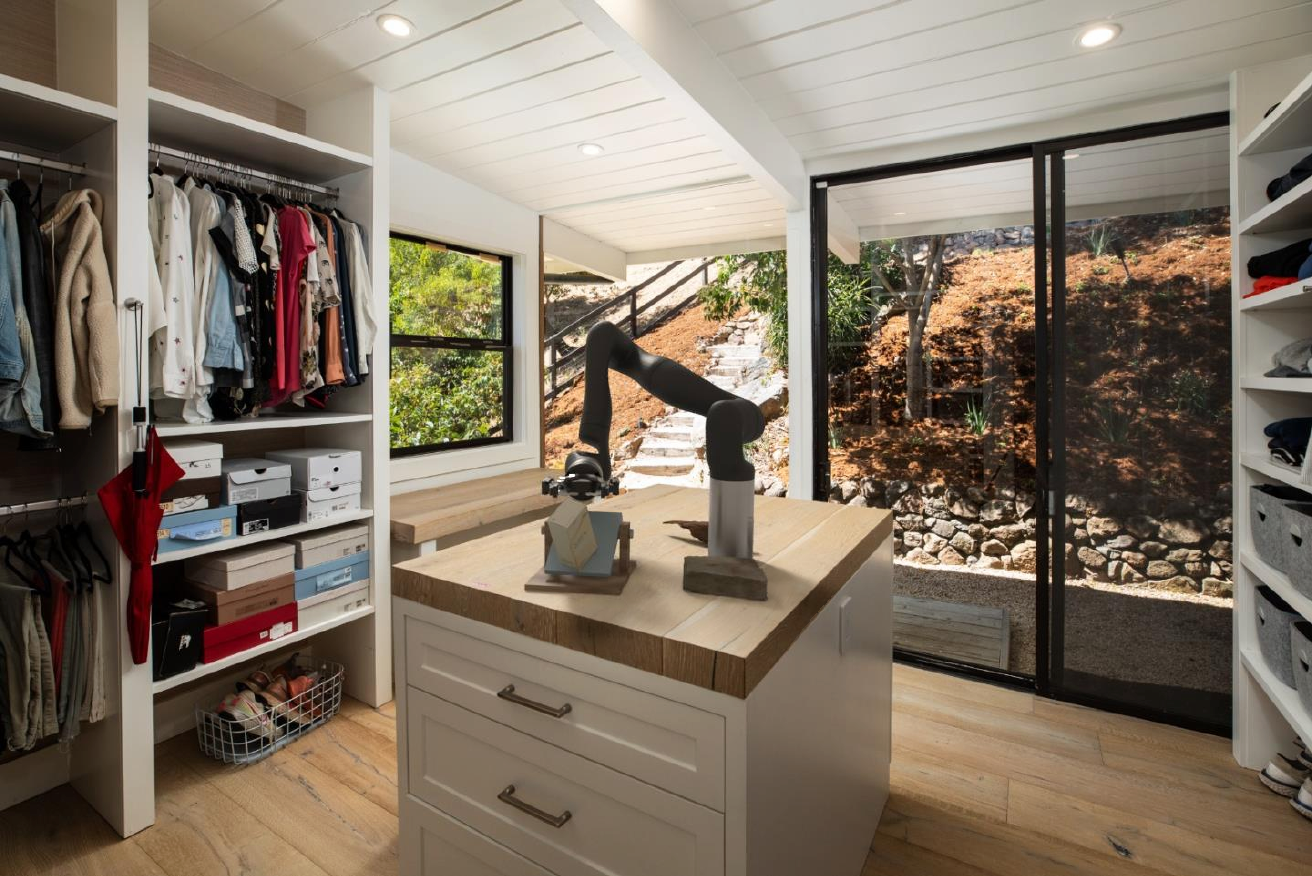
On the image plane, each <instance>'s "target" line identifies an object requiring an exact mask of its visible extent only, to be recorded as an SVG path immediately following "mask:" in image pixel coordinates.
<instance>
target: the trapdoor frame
mask: <svg viewBox="0 0 1312 876" xmlns="http://www.w3.org/2000/svg"><path fill="white" fill-rule="evenodd" d="M548 519H549V517H548V518H547V519H546V520H544V522H543V523H544V525H542V524H541V528H540V534H541V535H543V536H544V537H543V538H544V539H543V541H544V543H543V545H544V546H543V547H544V549H543V553H544V554H543V566H542V567H541V568H540V569H539V570H538V571H537V572H536V573H534V574H533V576H531V577H530V578H529V579H528V580H527V581H526V582H525V583H524V586H523V587H524V588H523V589H524V591H538V592H539V591H540V592H556V593H573V594H574V593H575V594H589V595H590V594H591V595H592V594H593V595H606V596H607V595H610V596H621V594H622V592H623V590H624V588H625V587H626V585H627V583H628V581H629V580H630V578H631V576H632V575H633V572H634V570H635V569H636V568H637V565H638V564H637V562H638V561H637V560H636V559H635V560H634V559H631V558H630V557H631V554H630V553H631V540H633V539H634V536H635V535H634V533H635V531H634V530H635V529H634V528H632V529H631V521H626V520H625V521H624V520H623V521H622V523H621V524H620V539H619V543H618V544H619V549H618V550H619V554H618V557H619V558H618V559H616V558H614V560H613V565H612V570H611V575H610V577H597V576H578V575H560V574H545V572H544V568H545V565H546V562H547V558H548V555H549V552H550V548H551V545H552V542H553V538H552V535H551V532H550V528H549V525H548V522H547V520H548Z"/></svg>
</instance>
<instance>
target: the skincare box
mask: <svg viewBox="0 0 1312 876" xmlns="http://www.w3.org/2000/svg"><path fill="white" fill-rule="evenodd" d="M588 511H589V510H588V506H587V504H586V503H584V502H583V501H578V500H575V499H573V498H572V497H569V496H566V498H564V499H563V501H562V502H561V503H560V504H559V506H557V508H556V509H555V510H554V511H553V513H552V514H551V515H550V516H549V517H548V518H549V519H548V518H547V519H548V520H547V519H546V520H547V522H548V525H549V528H550V532H551V535H552V538H553V541H554V544H555V547H556V550H557V553H558V556H559V560H560V563H561V564H563V565H566V566H568V567H570V568H572V569H574V570H577V571H580V570H581V568H582V567H583V566H584V565H585V563H586V562H587V561H588V560H589V558H590V557H591V556H592V554H593V553H594V552H595V550H596V549H597V544H596V540H595V536H594V532H593V528H592V524H591V521H590V517H589V513H588Z"/></svg>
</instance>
